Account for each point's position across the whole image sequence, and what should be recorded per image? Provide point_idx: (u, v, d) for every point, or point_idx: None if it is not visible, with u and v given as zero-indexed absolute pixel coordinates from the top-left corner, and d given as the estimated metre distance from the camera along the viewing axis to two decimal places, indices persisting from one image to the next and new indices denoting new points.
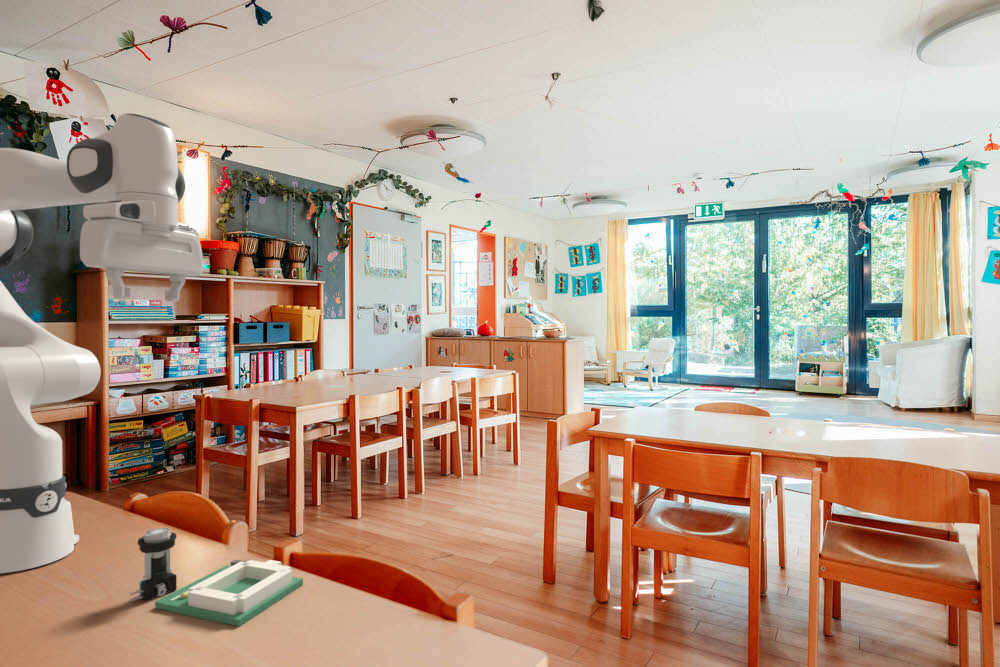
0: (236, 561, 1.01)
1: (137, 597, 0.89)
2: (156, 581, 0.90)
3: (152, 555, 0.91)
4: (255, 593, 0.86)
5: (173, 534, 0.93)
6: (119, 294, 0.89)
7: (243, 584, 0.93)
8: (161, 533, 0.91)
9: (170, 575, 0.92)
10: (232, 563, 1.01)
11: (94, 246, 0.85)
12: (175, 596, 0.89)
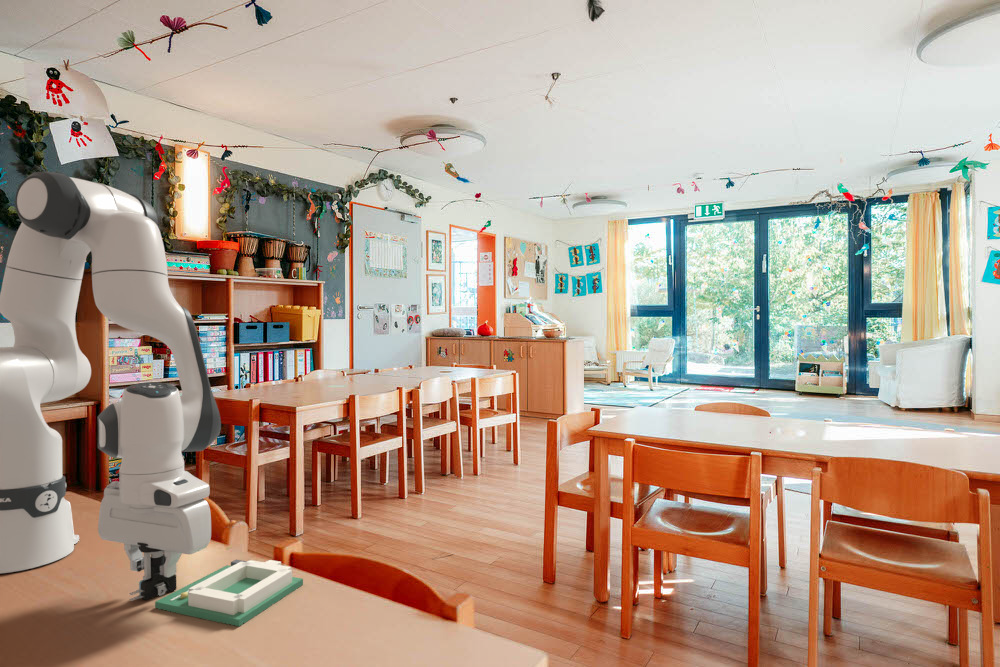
0: (236, 561, 1.01)
1: (137, 597, 0.89)
2: (156, 581, 0.90)
3: (151, 555, 0.91)
4: (255, 593, 0.86)
5: None
6: (174, 570, 0.90)
7: (243, 584, 0.93)
8: None
9: None
10: (232, 563, 1.01)
11: (207, 531, 0.89)
12: (175, 596, 0.89)
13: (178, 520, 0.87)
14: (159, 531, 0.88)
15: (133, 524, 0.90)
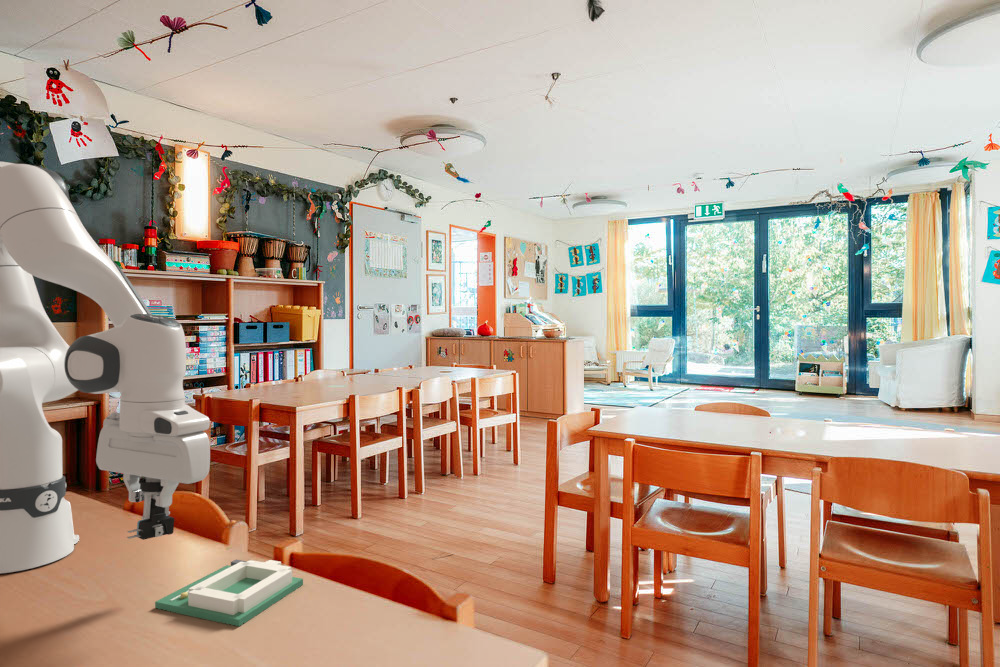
0: (236, 561, 1.01)
1: (134, 536, 0.90)
2: (154, 521, 0.91)
3: (152, 496, 0.92)
4: (255, 593, 0.86)
5: None
6: (169, 501, 0.90)
7: (243, 584, 0.93)
8: None
9: (168, 517, 0.93)
10: (232, 563, 1.01)
11: (206, 462, 0.89)
12: (175, 596, 0.89)
13: (177, 449, 0.87)
14: (158, 460, 0.88)
15: (132, 454, 0.90)
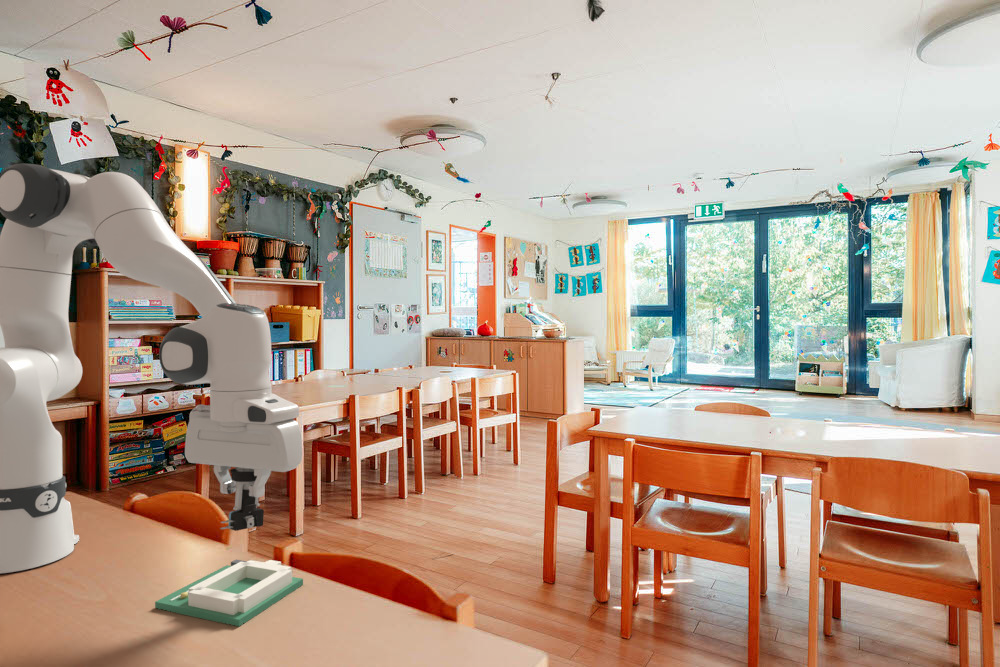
0: (236, 561, 1.01)
1: (227, 527, 0.88)
2: (246, 512, 0.90)
3: (243, 486, 0.90)
4: (255, 593, 0.86)
5: None
6: (262, 491, 0.89)
7: (243, 584, 0.93)
8: None
9: (258, 509, 0.92)
10: (232, 563, 1.01)
11: (299, 450, 0.88)
12: (175, 596, 0.89)
13: (272, 437, 0.86)
14: (251, 449, 0.87)
15: (223, 445, 0.89)
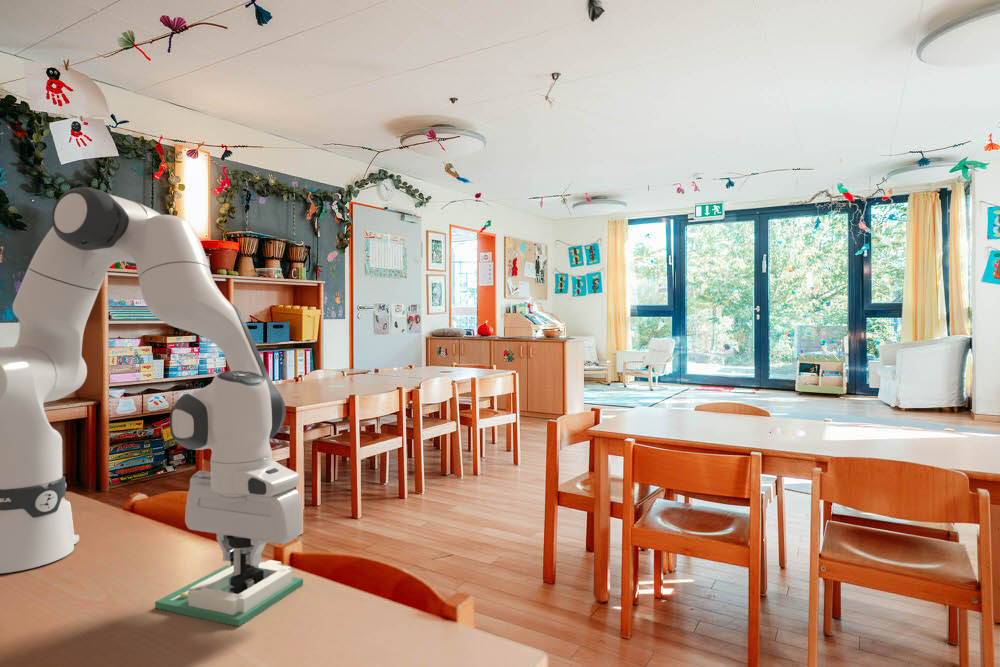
0: None
1: None
2: (245, 577, 0.90)
3: (241, 550, 0.90)
4: (255, 593, 0.86)
5: None
6: (259, 559, 0.90)
7: None
8: None
9: (258, 570, 0.92)
10: (232, 563, 1.01)
11: (299, 520, 0.88)
12: (175, 596, 0.89)
13: (272, 509, 0.86)
14: (251, 520, 0.87)
15: (223, 513, 0.89)
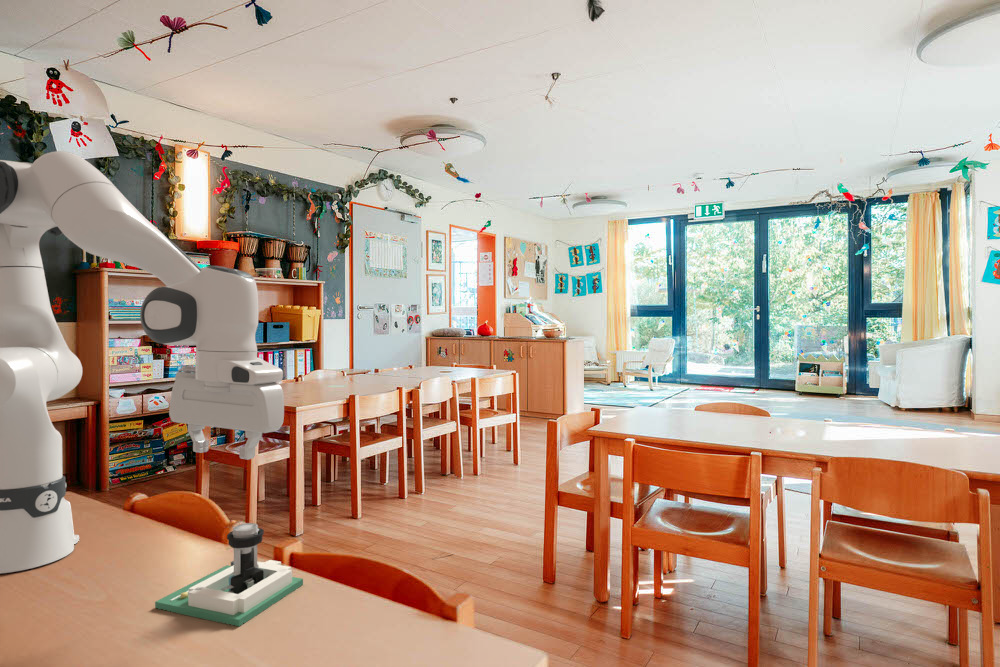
0: None
1: None
2: (245, 577, 0.90)
3: (241, 550, 0.90)
4: (255, 593, 0.86)
5: (260, 529, 0.92)
6: (253, 453, 0.90)
7: None
8: (250, 528, 0.90)
9: (258, 570, 0.92)
10: (232, 563, 1.01)
11: (281, 413, 0.89)
12: (175, 596, 0.89)
13: (254, 398, 0.87)
14: (234, 410, 0.89)
15: (206, 405, 0.90)
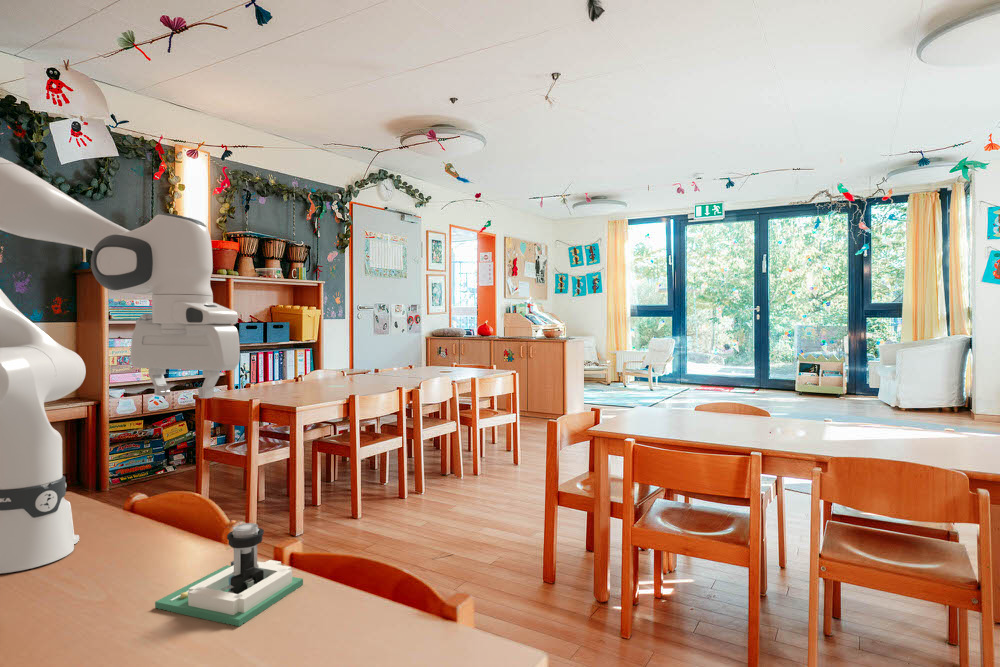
0: None
1: None
2: (245, 577, 0.90)
3: (241, 550, 0.90)
4: (255, 593, 0.86)
5: (260, 529, 0.92)
6: (211, 393, 0.94)
7: None
8: (250, 528, 0.90)
9: (258, 570, 0.92)
10: (232, 563, 1.01)
11: (236, 352, 0.93)
12: (175, 596, 0.89)
13: (209, 338, 0.91)
14: (190, 351, 0.92)
15: (165, 348, 0.94)
